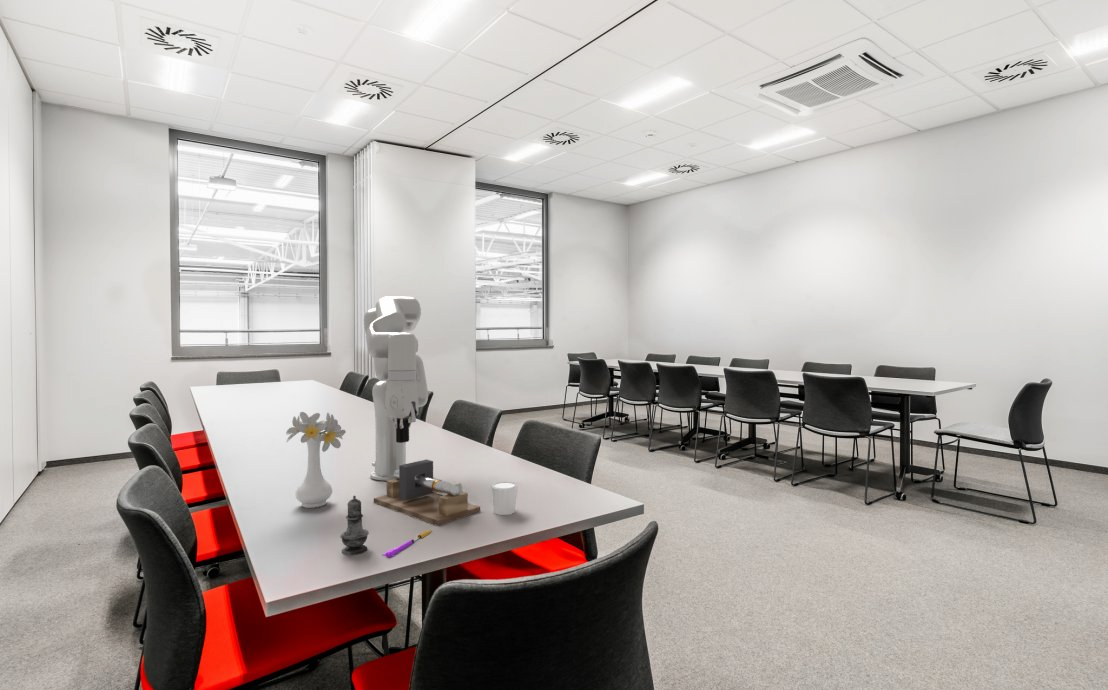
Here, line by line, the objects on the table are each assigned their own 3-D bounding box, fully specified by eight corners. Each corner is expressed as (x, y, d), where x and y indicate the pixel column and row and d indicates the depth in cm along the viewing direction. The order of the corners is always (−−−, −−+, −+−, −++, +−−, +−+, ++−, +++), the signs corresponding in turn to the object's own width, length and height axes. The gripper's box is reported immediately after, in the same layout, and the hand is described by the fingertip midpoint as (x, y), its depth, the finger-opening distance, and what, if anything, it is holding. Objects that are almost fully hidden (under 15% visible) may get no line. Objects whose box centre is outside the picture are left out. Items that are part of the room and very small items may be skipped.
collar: (399, 498, 147) (399, 465, 147) (426, 490, 154) (426, 459, 154) (406, 500, 146) (405, 467, 145) (433, 493, 152) (433, 461, 152)
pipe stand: (373, 502, 151) (373, 482, 151) (415, 491, 162) (415, 472, 162) (437, 525, 133) (437, 503, 133) (480, 511, 144) (480, 490, 144)
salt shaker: (352, 557, 114) (351, 501, 114) (334, 551, 117) (334, 496, 117) (374, 548, 119) (374, 494, 119) (357, 542, 122) (356, 489, 122)
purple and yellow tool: (390, 558, 114) (433, 533, 129) (389, 553, 114) (432, 528, 129) (380, 559, 115) (423, 534, 130) (379, 554, 115) (422, 529, 130)
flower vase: (321, 517, 139) (320, 419, 138) (273, 506, 147) (272, 414, 146) (360, 502, 150) (359, 412, 150) (313, 493, 159) (313, 408, 158)
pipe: (393, 479, 155) (393, 470, 154) (401, 477, 157) (401, 468, 157) (453, 497, 138) (453, 487, 138) (461, 495, 140) (461, 484, 140)
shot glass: (510, 517, 139) (510, 490, 139) (486, 514, 142) (486, 487, 142) (521, 509, 146) (521, 483, 146) (498, 506, 148) (498, 480, 148)
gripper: (375, 376, 155) (375, 440, 155) (407, 378, 145) (407, 447, 146) (398, 375, 161) (398, 437, 161) (429, 377, 151) (430, 443, 151)
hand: (402, 441), depth 153 cm, fingers closed
